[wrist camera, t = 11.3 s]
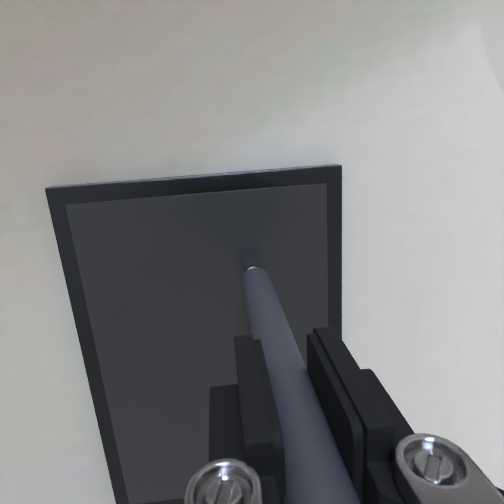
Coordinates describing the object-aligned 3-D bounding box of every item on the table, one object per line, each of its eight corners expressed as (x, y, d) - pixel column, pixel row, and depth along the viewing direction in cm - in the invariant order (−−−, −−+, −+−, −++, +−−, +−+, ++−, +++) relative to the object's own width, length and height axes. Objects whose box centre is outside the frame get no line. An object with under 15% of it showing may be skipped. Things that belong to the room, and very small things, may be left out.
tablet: (51, 186, 19) (43, 188, 18) (337, 163, 20) (342, 165, 19) (121, 503, 24) (118, 516, 24) (337, 474, 25) (342, 485, 25)
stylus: (238, 261, 19) (294, 535, 6) (266, 259, 20) (380, 523, 6) (240, 287, 20) (296, 599, 6) (267, 285, 20) (377, 585, 7)
